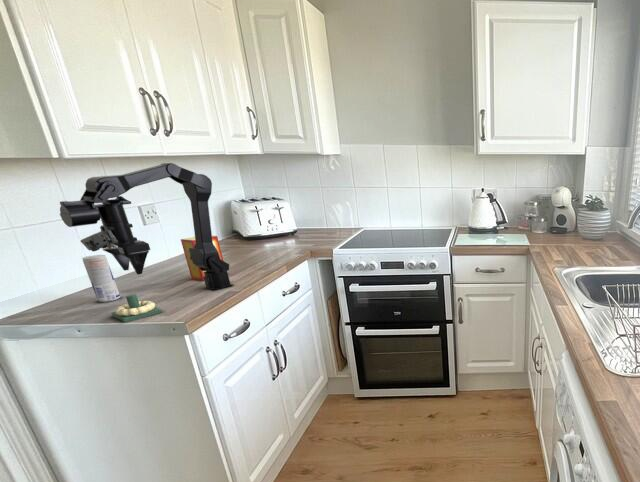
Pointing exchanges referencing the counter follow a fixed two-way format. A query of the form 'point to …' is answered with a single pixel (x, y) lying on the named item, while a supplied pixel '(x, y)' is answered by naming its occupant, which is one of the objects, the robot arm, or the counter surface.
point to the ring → (135, 309)
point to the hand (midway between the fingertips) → (132, 272)
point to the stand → (134, 303)
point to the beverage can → (101, 278)
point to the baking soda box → (193, 269)
